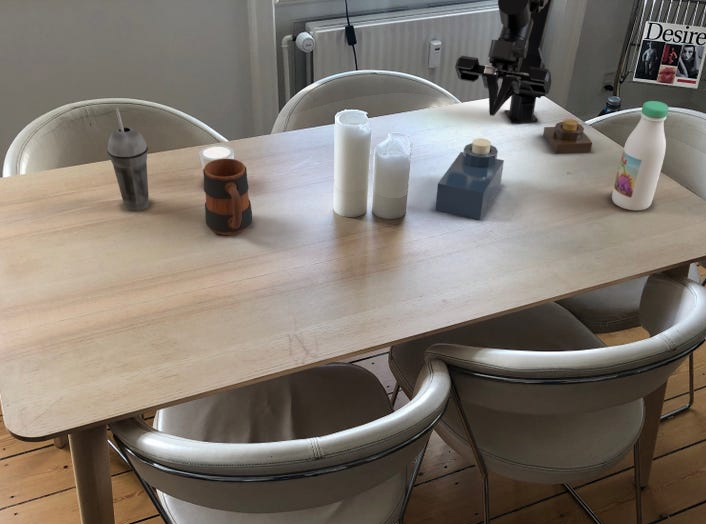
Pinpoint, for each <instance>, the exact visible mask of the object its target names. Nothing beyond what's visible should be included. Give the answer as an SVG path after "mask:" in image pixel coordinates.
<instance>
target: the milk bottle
mask: <svg viewBox="0 0 706 524" xmlns="http://www.w3.org/2000/svg"><path fill="white" fill-rule="evenodd" d="M669 111H670V110H669V105H667V104H666V103H664V102H662V101H658V100H657V101H656V100H648V101H646V102H644V103H643V105H642V107H641V112H640V116H641V117H640V120H639V122H638V123H637V125H636V126H635V128H634V129H633V130H632V131H631V133H630V134H629V135H628V137H627V139H626V141H625V144H624V147H623V151H622V154H621V157H620V161H619V165H618V169H617V174H616V178H615V181H614V186H613V190H612V194H611V199H612V202H613V203H614V204H615V205H616V206H618V207H620V208H621V209H624V210H629V211H644V210H646V209H648V208H650V206H651V205H652V203H653V199H654V197H655V194H656V189H657V186H658V182H659V178H660V175H661V171H662V168H663V164H664V159H665V155H666V149H667V140H666V134H665V127H664V126H665V125H664V124H665V120H666V119H667V116H668V114H669Z"/></svg>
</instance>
